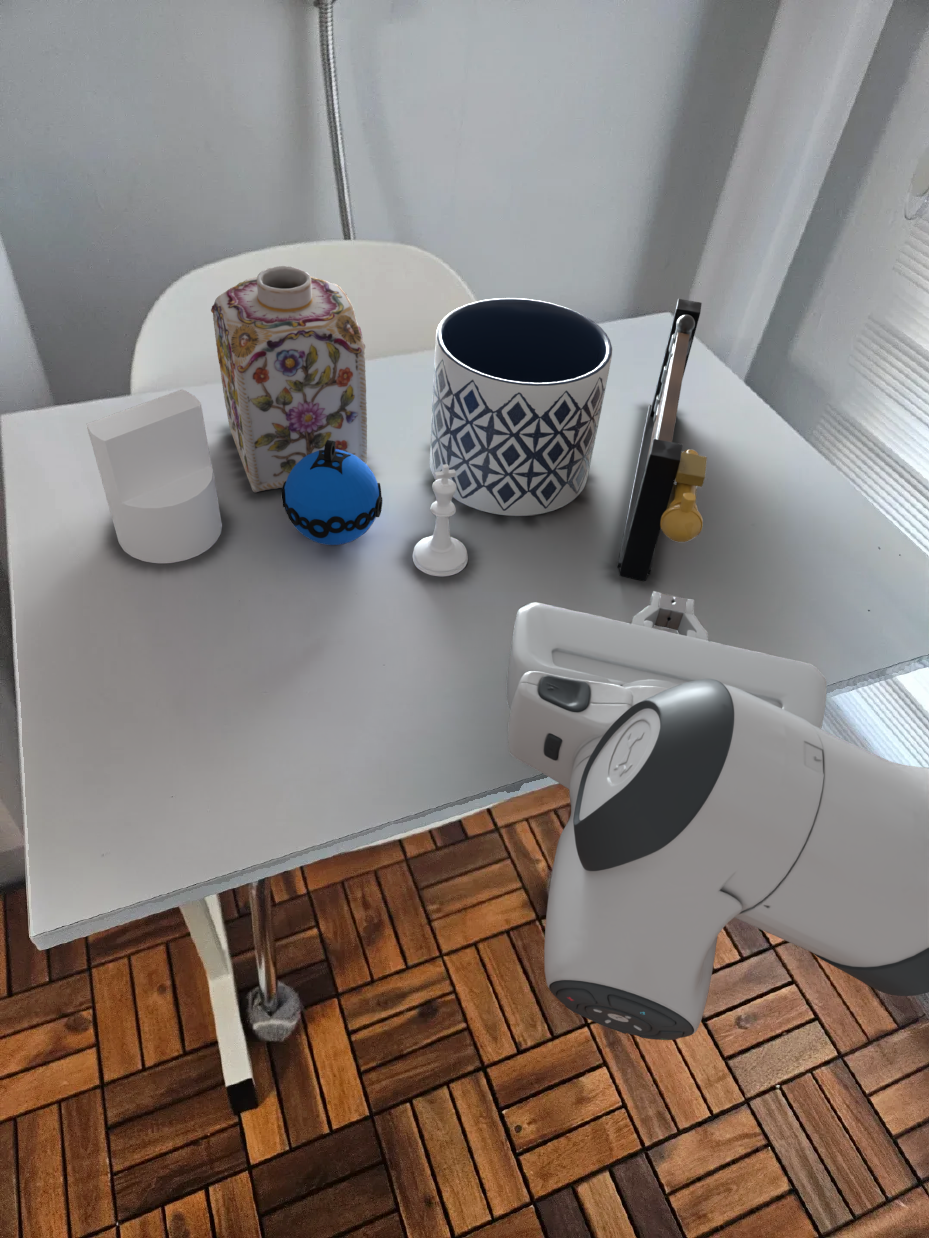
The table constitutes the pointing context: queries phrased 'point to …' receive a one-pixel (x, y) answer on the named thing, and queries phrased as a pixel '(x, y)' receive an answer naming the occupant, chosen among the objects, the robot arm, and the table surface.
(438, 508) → the chess piece
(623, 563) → the gate frame
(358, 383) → the decorative jar
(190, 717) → the table surface
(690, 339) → the gate
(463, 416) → the planter
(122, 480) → the cylinder with rectangular tab
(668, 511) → the bolt
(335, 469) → the ornament
